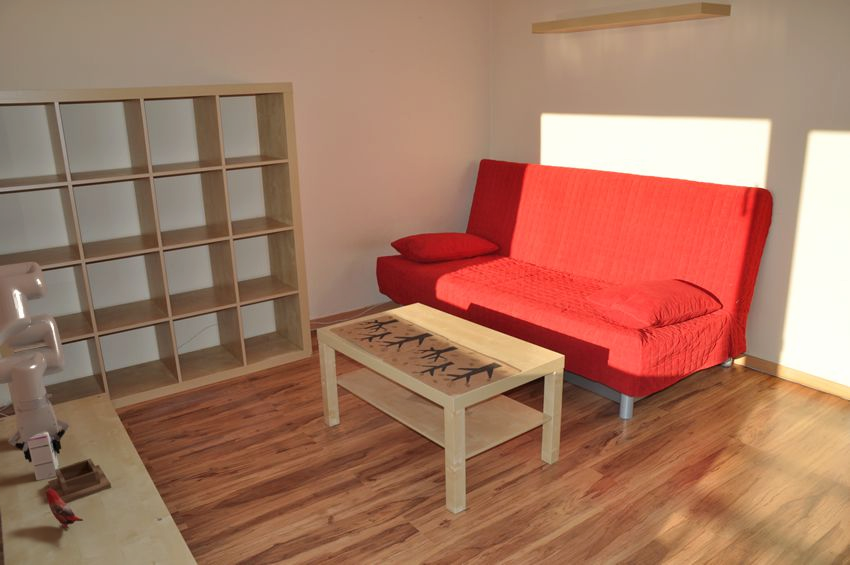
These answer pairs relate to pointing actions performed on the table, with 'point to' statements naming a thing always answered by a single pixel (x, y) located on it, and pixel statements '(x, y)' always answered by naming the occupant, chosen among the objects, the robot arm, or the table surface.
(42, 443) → the syrup box
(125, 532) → the table surface
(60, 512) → the decorative bird figurine
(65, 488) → the stand
